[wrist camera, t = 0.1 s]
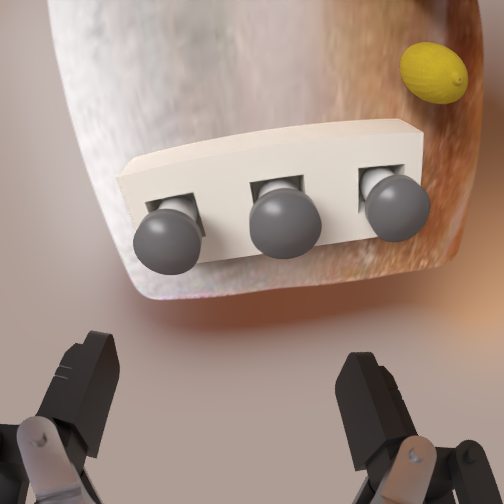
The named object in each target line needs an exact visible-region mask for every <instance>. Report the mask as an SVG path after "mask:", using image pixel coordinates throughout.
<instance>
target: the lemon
mask: <svg viewBox="0 0 504 504" xmlns="http://www.w3.org/2000/svg"><path fill="white" fill-rule="evenodd" d="M399 67H400V74H401V77H402V80H403V82H404V83H405V85H406V87H407V88H408V89H409V90H410V91H411V92H412V93H413V94H415V95H416V96H417V97H419V98H420V99H422V100H425V101H428V102H430V103H436V104H448V103H452V102H455V101H457V100H458V99H460V98H461V97H462V96H463V95H464V93H465V91H466V89H467V85H468V74H467V70H466V67H465V65H464V63H463V62H462V60H461V59H460V58H459V56H458V55H457V54H456V53H454V52H453V51H451V50H450V49H448V48H447V47H445V46H443V45H439V44H436V43H432V42H421V43H417V44H414V45H412V46H410V47H409V48H408V49H406V51H405V52H404V53H403V55H402V57H401V60H400V66H399Z"/></svg>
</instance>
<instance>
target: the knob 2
mask: <svg viewBox="0 0 504 504" xmlns="http://www.w3.org/2000/svg"><path fill="white" fill-rule="evenodd" d="M358 187H359V191H360V193H361V195H362V196H363V198H364V199H365V201H366V202H365V216H366V218H367V220H368V222H369V224H370V226H371V227H372V229H373V230H374V232H375V233H376V235H377V236H378V237H379V238H381V239H383V240H385V241H388V242H400V241H404V240H407V239H409V238H411V237H412V236H414V235H415V234H416V233H417V232H419V231H420V229H421V228H422V227H423V226H424V224H425V223H426V221H427V219H428V216H429V212H430V200H429V197H428V195H427V193H426V191H425V190H424V189H423V188H422V187H421V186H420V185H419V184H418V183H417V182H416V181H414V180H413V179H412V178H410V177H408V176H406V175H400V174H399V175H395V174H394V173H393V172H392V171H391V170H390V169H389V168H387V167H386V166H375V167H369V168H368V169H366V170H365V171H364V172H363V173H362V175H361V177H360V179H359V183H358Z"/></svg>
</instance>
